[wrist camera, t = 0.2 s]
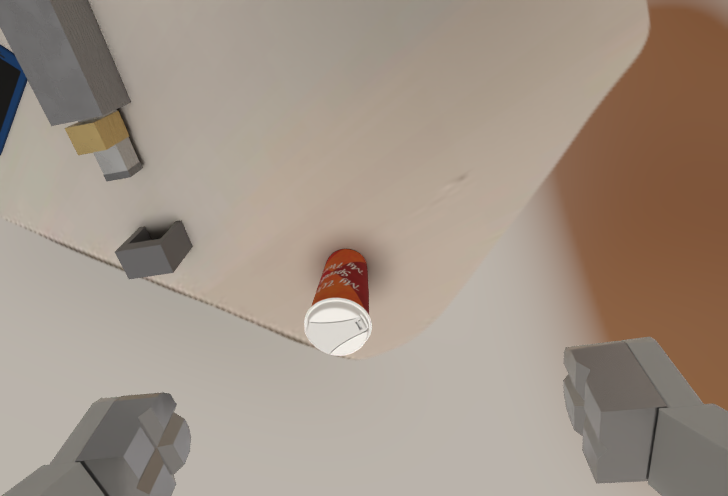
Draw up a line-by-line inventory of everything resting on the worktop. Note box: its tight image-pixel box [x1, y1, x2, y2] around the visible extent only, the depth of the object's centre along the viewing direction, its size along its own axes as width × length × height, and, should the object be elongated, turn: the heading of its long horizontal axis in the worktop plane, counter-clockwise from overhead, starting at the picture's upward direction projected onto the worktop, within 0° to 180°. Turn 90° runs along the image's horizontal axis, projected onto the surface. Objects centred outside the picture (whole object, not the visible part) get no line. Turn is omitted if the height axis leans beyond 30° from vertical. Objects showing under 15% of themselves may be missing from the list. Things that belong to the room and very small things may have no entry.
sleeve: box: [0, 0, 131, 126], centre depth 49 cm, size 12×6×6 cm, turn 11°
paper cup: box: [304, 249, 372, 356], centre depth 58 cm, size 8×8×14 cm
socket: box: [115, 221, 192, 279], centre depth 61 cm, size 4×6×6 cm, turn 101°
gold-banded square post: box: [65, 110, 143, 181], centre depth 51 cm, size 19×3×5 cm, turn 11°
